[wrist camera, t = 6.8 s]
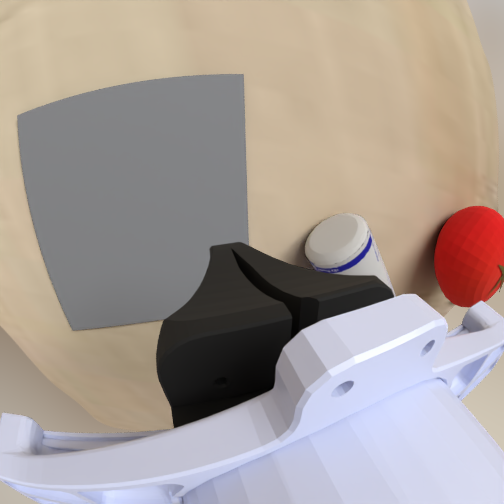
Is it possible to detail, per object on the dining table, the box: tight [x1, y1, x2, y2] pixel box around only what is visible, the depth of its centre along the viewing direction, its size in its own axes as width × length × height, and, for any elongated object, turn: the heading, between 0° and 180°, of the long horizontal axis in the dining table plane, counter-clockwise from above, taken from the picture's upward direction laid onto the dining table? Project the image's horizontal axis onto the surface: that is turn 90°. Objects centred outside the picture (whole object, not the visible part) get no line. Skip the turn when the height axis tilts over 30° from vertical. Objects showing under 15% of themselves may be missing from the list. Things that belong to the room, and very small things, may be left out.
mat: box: [17, 74, 249, 330], centre depth 19 cm, size 19×17×1 cm
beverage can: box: [305, 213, 396, 297], centre depth 25 cm, size 6×6×15 cm
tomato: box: [434, 206, 504, 307], centre depth 26 cm, size 12×13×11 cm
